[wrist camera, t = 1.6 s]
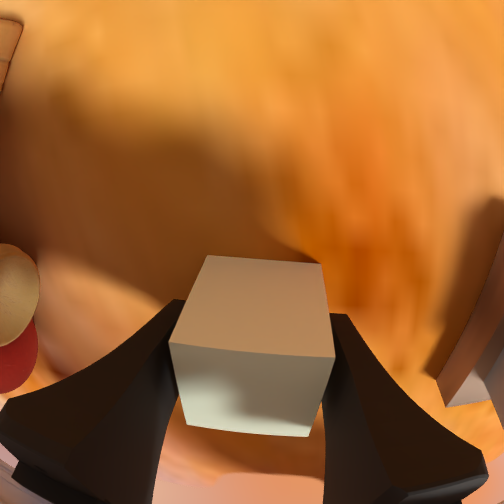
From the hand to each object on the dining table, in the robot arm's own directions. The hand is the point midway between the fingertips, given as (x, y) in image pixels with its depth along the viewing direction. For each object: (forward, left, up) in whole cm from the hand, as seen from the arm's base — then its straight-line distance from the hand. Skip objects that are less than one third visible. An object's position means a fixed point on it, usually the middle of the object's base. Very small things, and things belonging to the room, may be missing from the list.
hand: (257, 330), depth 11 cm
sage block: (0, 0, -2) cm, 2 cm away
